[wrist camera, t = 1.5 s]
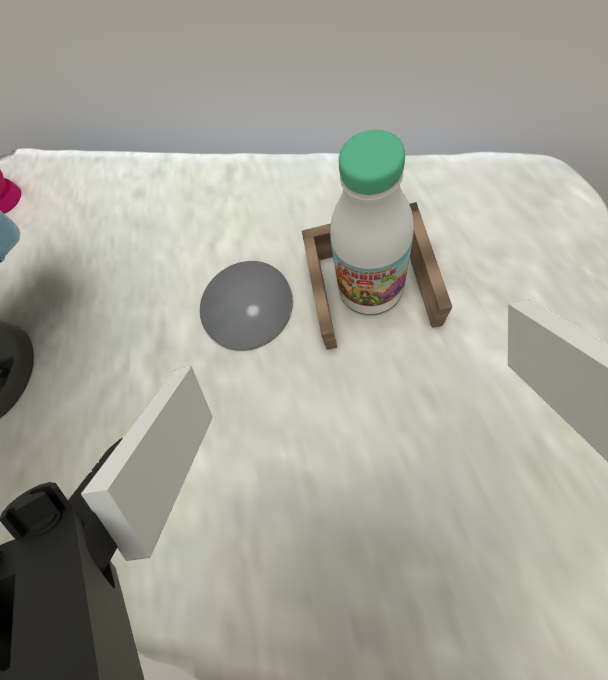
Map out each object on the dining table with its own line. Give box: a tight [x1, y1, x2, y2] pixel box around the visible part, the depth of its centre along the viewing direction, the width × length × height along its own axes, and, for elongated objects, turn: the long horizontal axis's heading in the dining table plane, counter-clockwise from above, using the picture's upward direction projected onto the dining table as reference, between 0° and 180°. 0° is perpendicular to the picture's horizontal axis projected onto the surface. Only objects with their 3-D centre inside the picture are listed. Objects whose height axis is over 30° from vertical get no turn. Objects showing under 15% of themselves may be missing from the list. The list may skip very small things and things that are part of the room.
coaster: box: [200, 261, 293, 350], centre depth 44 cm, size 12×12×1 cm
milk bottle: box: [330, 130, 414, 314], centre depth 33 cm, size 8×8×20 cm
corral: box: [302, 202, 452, 349], centre depth 40 cm, size 13×13×5 cm
